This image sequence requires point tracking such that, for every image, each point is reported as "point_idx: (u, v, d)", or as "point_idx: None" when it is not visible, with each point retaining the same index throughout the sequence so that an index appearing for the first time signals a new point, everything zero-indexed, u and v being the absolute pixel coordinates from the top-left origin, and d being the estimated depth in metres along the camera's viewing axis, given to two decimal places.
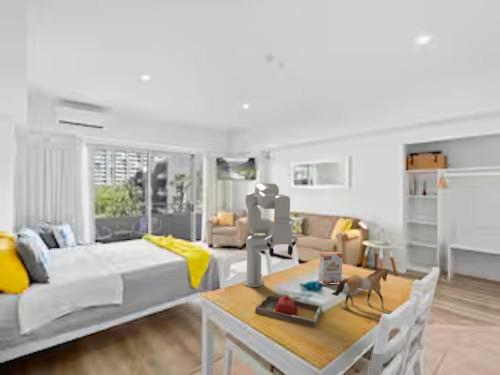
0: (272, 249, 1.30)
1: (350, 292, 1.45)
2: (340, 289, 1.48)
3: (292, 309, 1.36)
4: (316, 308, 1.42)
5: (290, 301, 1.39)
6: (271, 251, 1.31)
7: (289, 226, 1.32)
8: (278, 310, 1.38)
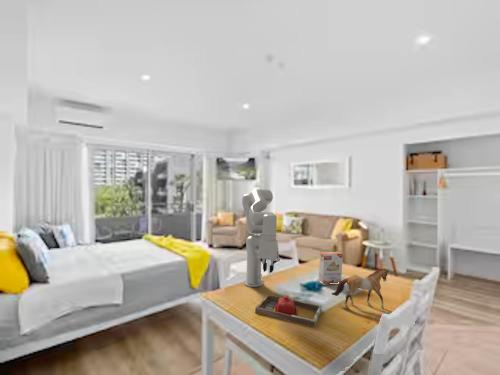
0: None
1: (350, 292, 1.45)
2: (340, 289, 1.48)
3: (292, 309, 1.36)
4: (316, 308, 1.42)
5: (290, 302, 1.38)
6: None
7: None
8: (278, 311, 1.37)
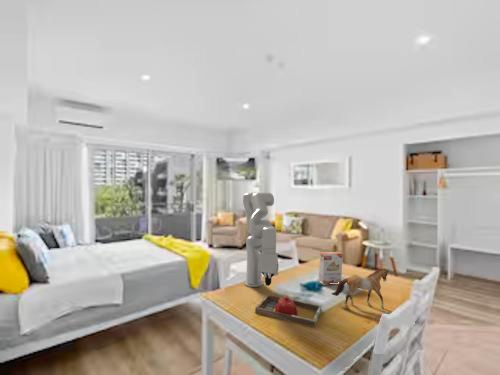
0: None
1: (350, 292, 1.45)
2: (340, 289, 1.48)
3: (293, 310, 1.35)
4: (316, 308, 1.42)
5: (290, 302, 1.38)
6: None
7: None
8: (279, 311, 1.36)
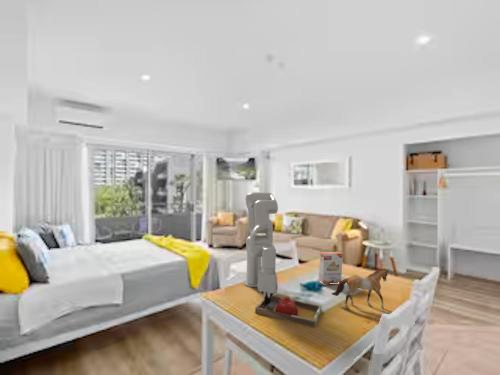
0: None
1: (350, 292, 1.45)
2: (340, 289, 1.48)
3: (293, 310, 1.35)
4: (316, 308, 1.42)
5: (290, 302, 1.38)
6: None
7: None
8: (279, 311, 1.36)
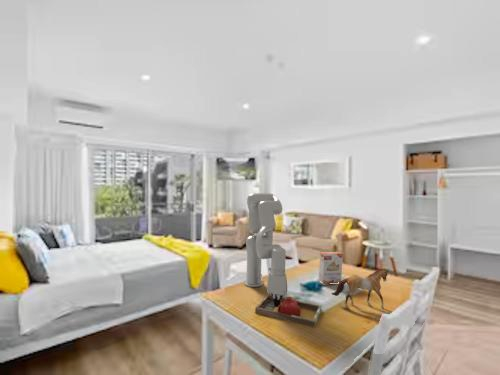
0: None
1: (350, 292, 1.45)
2: (340, 289, 1.48)
3: (295, 311, 1.34)
4: (316, 308, 1.42)
5: (293, 303, 1.37)
6: None
7: None
8: (281, 312, 1.36)
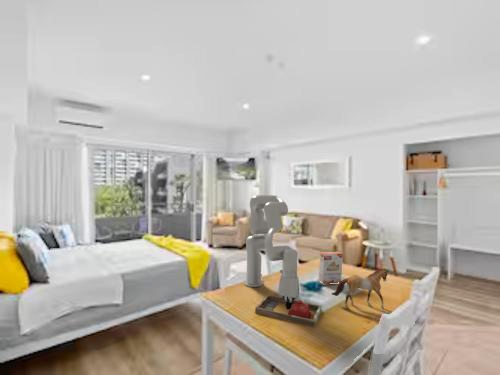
0: None
1: (350, 292, 1.45)
2: (340, 289, 1.48)
3: (305, 315, 1.31)
4: (316, 308, 1.42)
5: (303, 306, 1.33)
6: None
7: None
8: (290, 314, 1.34)
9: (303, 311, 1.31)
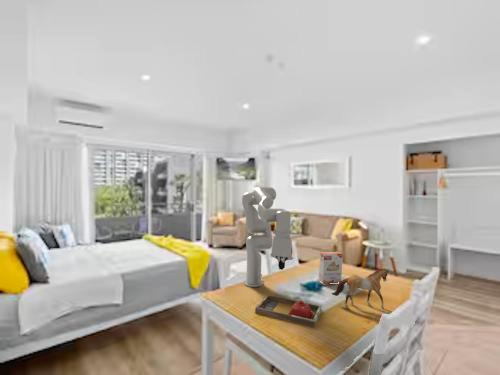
0: None
1: (350, 292, 1.45)
2: (340, 289, 1.48)
3: (305, 315, 1.31)
4: (316, 308, 1.42)
5: (304, 307, 1.33)
6: None
7: None
8: (291, 314, 1.33)
9: (304, 311, 1.31)
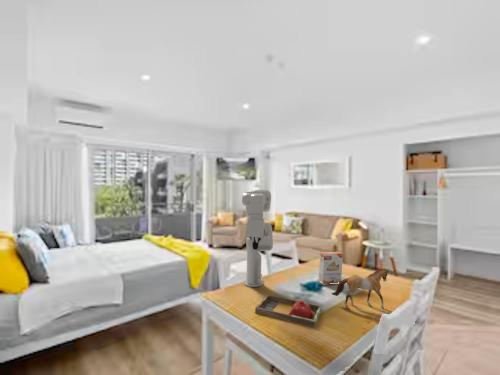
0: None
1: (350, 292, 1.45)
2: (340, 289, 1.48)
3: (306, 315, 1.30)
4: (316, 308, 1.42)
5: (304, 307, 1.33)
6: None
7: None
8: None
9: (304, 311, 1.31)
